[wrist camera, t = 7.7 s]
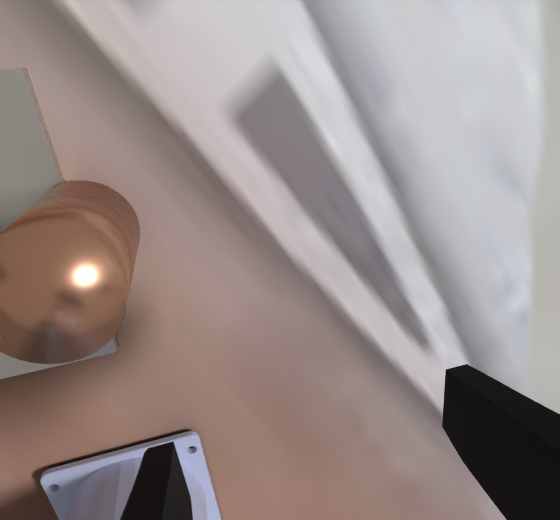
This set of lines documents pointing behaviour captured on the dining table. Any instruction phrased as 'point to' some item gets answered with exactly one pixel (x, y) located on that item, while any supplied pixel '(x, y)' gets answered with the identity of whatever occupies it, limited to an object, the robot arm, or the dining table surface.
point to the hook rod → (66, 273)
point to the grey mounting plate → (26, 176)
